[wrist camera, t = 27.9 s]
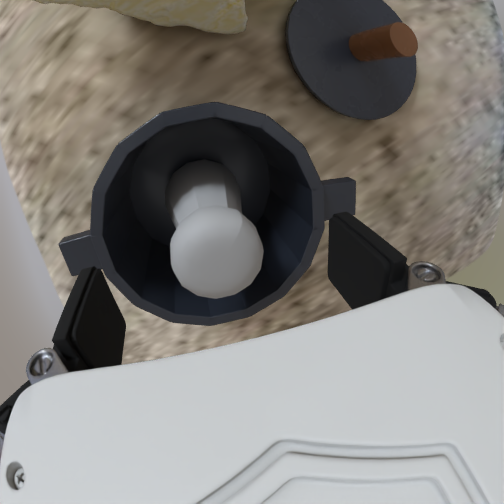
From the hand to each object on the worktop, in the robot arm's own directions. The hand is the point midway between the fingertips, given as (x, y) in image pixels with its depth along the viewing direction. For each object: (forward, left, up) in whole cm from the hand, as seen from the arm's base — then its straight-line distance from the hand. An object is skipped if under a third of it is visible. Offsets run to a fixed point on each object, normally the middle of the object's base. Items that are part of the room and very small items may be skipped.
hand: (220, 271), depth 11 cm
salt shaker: (+1, 0, -14) cm, 14 cm away
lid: (-11, +16, -14) cm, 24 cm away
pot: (+1, 0, -15) cm, 15 cm away
